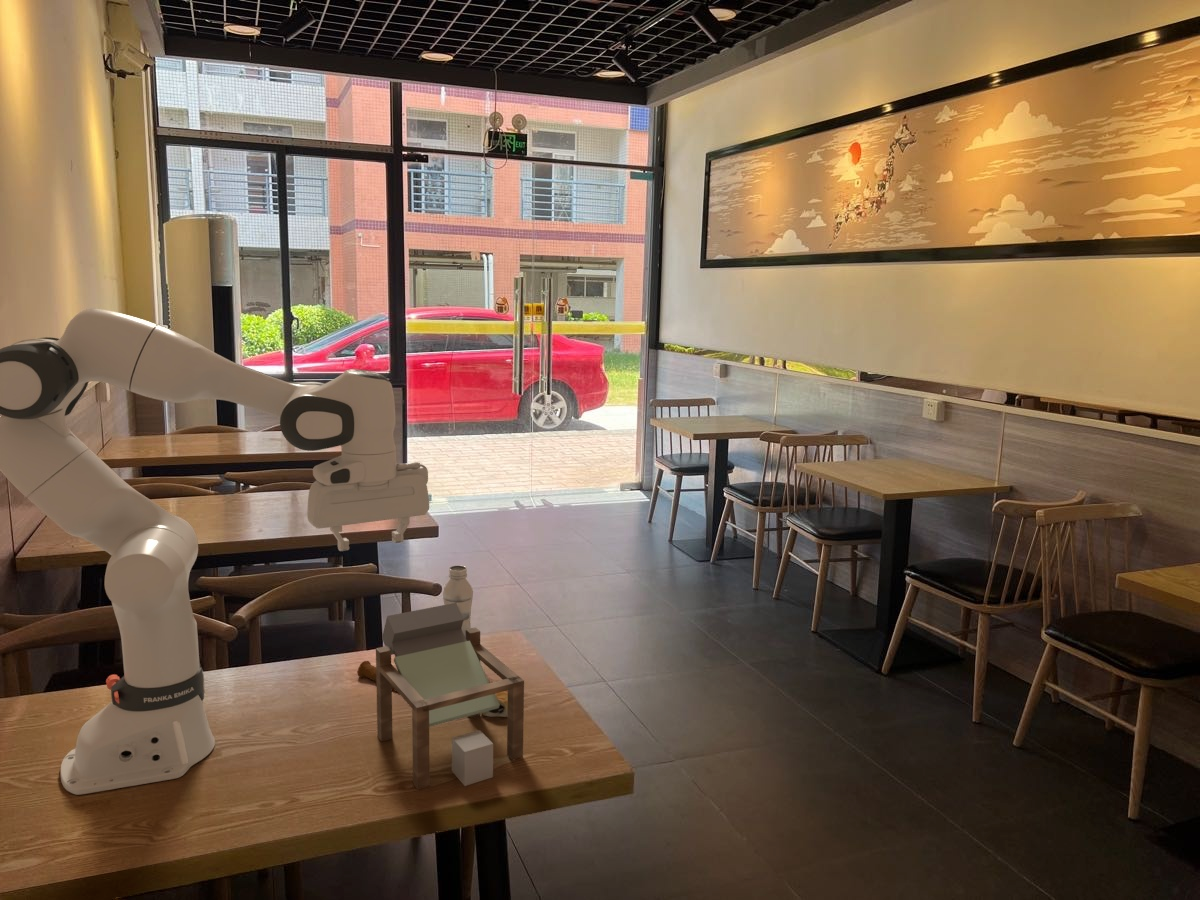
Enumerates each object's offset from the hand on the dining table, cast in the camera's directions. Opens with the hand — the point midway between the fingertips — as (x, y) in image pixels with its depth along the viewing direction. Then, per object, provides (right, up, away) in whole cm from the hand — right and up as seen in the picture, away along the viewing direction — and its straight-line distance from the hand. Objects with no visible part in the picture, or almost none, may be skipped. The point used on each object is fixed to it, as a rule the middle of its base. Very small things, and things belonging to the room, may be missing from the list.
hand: (371, 545), depth 148 cm
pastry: (+20, -33, +16) cm, 42 cm away
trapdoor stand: (+13, -35, +2) cm, 37 cm away
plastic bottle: (+9, -28, +37) cm, 47 cm away
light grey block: (+18, -31, -7) cm, 37 cm away
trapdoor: (+10, -23, +4) cm, 26 cm away
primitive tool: (0, -31, +23) cm, 39 cm away
